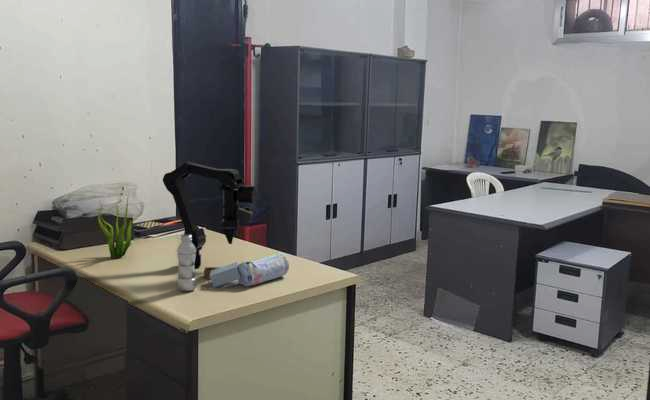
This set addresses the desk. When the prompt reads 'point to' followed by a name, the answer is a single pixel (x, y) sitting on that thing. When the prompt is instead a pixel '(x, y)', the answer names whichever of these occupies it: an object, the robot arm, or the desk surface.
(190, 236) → the plastic bottle
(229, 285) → the mat
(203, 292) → the desk surface
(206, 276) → the tray
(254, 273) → the pencil case
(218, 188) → the robot arm
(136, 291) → the desk surface
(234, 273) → the cover
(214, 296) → the desk surface
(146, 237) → the desk surface
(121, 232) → the decorative plant
